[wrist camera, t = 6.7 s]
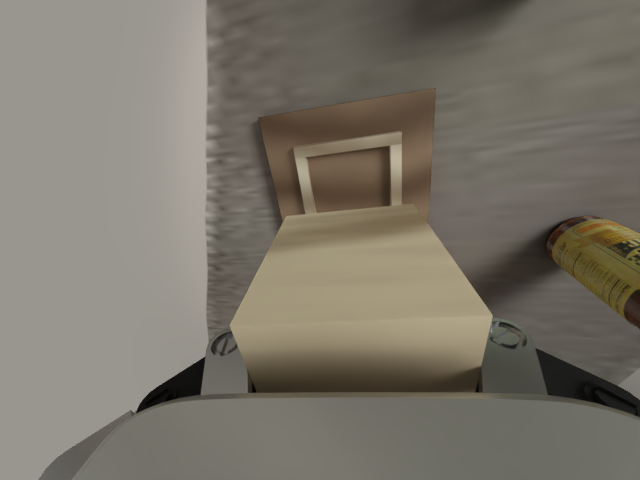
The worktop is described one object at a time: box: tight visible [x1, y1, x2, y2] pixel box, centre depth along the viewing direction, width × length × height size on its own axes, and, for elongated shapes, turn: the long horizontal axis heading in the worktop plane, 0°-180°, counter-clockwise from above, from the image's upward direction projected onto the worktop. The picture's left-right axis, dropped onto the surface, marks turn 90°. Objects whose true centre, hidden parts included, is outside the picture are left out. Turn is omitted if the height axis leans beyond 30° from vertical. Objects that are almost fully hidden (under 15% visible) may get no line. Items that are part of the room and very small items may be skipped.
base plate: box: [258, 88, 436, 223], centre depth 27 cm, size 16×16×2 cm
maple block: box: [230, 204, 493, 393], centre depth 10 cm, size 6×6×7 cm
